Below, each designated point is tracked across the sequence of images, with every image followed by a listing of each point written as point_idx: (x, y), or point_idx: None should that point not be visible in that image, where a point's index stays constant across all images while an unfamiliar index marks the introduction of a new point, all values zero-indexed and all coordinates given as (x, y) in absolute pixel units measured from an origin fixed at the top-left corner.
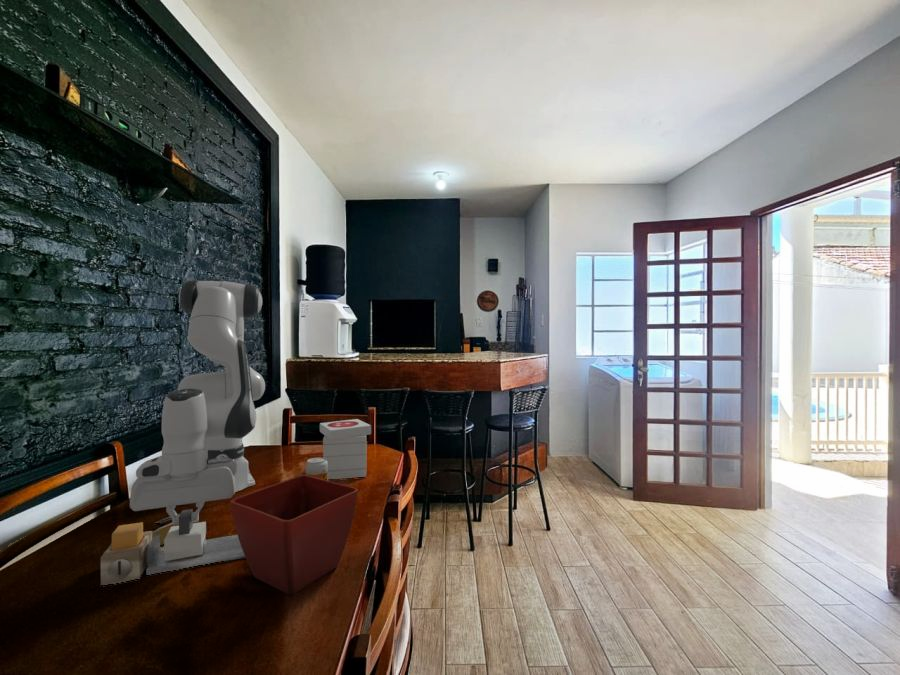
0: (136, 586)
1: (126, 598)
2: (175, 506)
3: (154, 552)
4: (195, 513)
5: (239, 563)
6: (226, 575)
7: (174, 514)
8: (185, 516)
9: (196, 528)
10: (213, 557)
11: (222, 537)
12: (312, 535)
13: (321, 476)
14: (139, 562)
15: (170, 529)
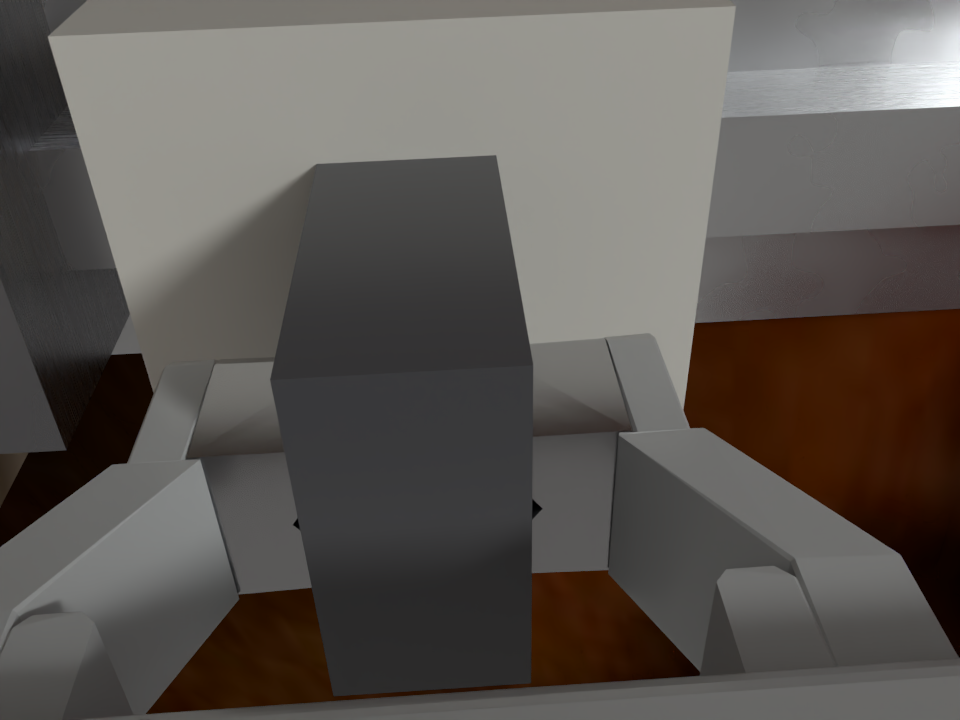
0: (117, 445)
1: None
2: (95, 630)
3: (78, 332)
4: (636, 592)
5: (932, 351)
6: (804, 491)
7: (187, 616)
8: (458, 678)
9: (582, 288)
10: (728, 319)
11: (894, 126)
12: None
13: None
14: (16, 457)
15: (100, 171)
